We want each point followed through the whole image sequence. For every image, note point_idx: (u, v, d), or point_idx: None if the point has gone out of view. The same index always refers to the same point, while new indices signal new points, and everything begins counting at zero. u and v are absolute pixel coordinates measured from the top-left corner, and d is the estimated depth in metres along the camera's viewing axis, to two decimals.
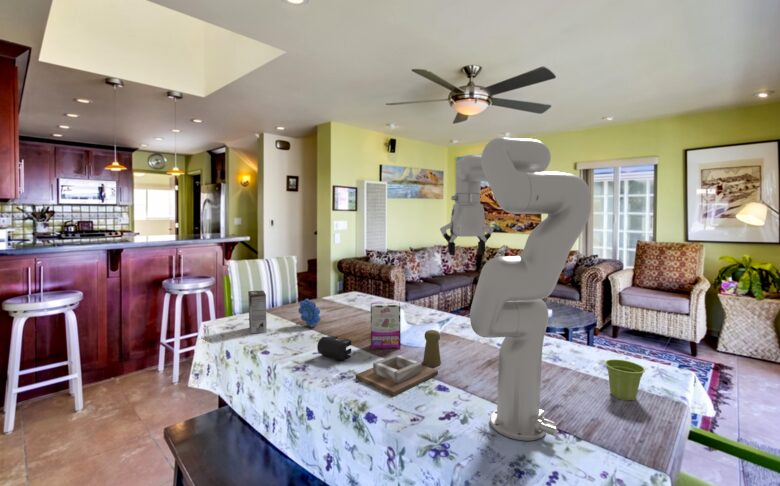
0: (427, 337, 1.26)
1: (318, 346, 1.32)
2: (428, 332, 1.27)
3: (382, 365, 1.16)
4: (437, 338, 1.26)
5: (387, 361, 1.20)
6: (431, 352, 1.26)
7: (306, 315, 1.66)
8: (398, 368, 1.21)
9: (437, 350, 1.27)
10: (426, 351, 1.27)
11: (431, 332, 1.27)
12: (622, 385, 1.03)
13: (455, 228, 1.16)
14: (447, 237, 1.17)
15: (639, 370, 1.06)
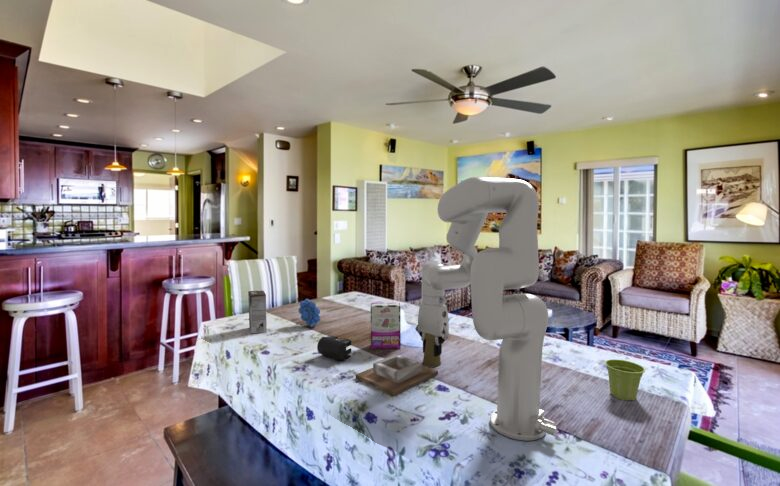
0: (427, 337, 1.26)
1: (318, 346, 1.32)
2: None
3: (382, 365, 1.16)
4: None
5: (387, 361, 1.20)
6: (431, 352, 1.26)
7: (306, 315, 1.66)
8: (398, 368, 1.21)
9: None
10: (426, 351, 1.27)
11: None
12: (622, 385, 1.03)
13: (448, 327, 1.26)
14: None
15: (639, 370, 1.06)
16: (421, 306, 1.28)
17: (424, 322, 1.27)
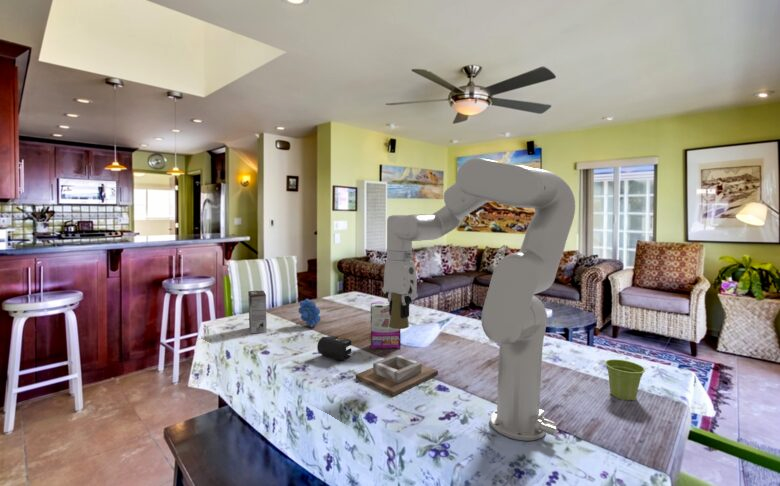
0: (393, 297, 1.14)
1: (318, 346, 1.32)
2: None
3: (382, 365, 1.16)
4: None
5: (387, 361, 1.20)
6: (397, 313, 1.14)
7: (306, 315, 1.66)
8: (398, 368, 1.21)
9: None
10: (392, 312, 1.15)
11: None
12: (622, 385, 1.03)
13: (416, 286, 1.14)
14: None
15: (639, 370, 1.06)
16: (387, 263, 1.16)
17: (390, 280, 1.15)
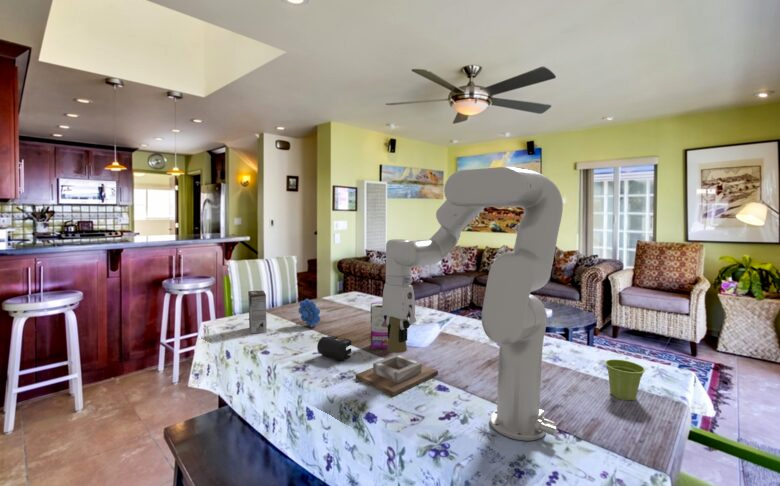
0: (391, 321, 1.15)
1: (318, 346, 1.32)
2: None
3: (382, 365, 1.16)
4: None
5: (387, 361, 1.20)
6: (395, 337, 1.15)
7: (306, 315, 1.66)
8: (398, 368, 1.21)
9: None
10: (390, 336, 1.16)
11: None
12: (622, 385, 1.03)
13: (414, 310, 1.15)
14: None
15: (639, 370, 1.06)
16: (385, 287, 1.16)
17: (388, 304, 1.15)
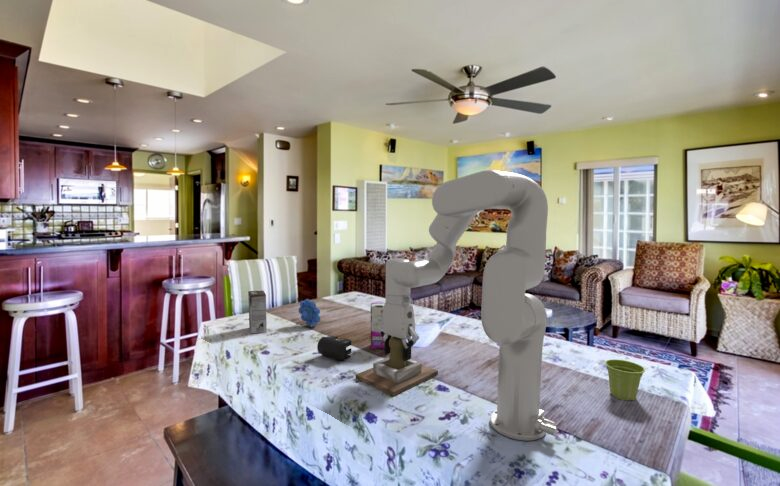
0: (391, 344, 1.15)
1: (318, 346, 1.32)
2: (392, 339, 1.16)
3: (382, 365, 1.16)
4: (402, 345, 1.15)
5: (387, 361, 1.20)
6: (395, 361, 1.15)
7: (306, 315, 1.66)
8: None
9: (402, 359, 1.16)
10: (390, 360, 1.16)
11: (395, 339, 1.16)
12: (622, 385, 1.03)
13: (414, 329, 1.15)
14: None
15: (639, 370, 1.06)
16: (385, 306, 1.17)
17: (388, 323, 1.16)
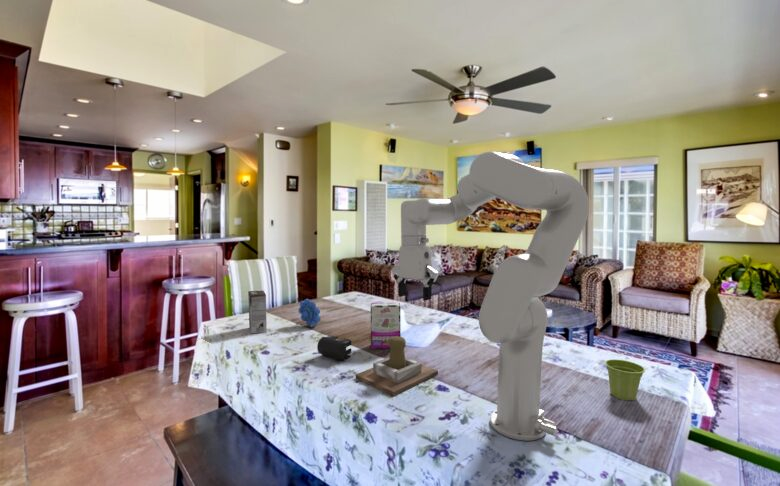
0: (391, 344, 1.15)
1: (318, 346, 1.32)
2: (392, 339, 1.16)
3: (382, 365, 1.16)
4: (402, 346, 1.15)
5: (387, 361, 1.20)
6: (395, 361, 1.15)
7: (306, 315, 1.66)
8: None
9: (402, 359, 1.16)
10: (390, 360, 1.16)
11: (395, 339, 1.16)
12: (622, 385, 1.03)
13: None
14: None
15: (639, 370, 1.06)
16: (401, 249, 1.16)
17: (405, 266, 1.15)
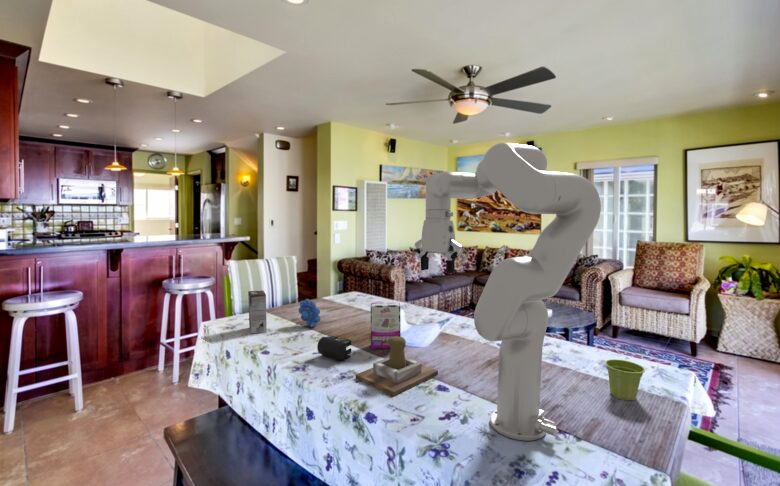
0: (391, 344, 1.15)
1: (318, 346, 1.32)
2: (392, 339, 1.16)
3: (382, 365, 1.16)
4: (402, 346, 1.15)
5: (387, 361, 1.20)
6: (395, 361, 1.15)
7: (306, 315, 1.66)
8: None
9: (402, 359, 1.16)
10: (390, 360, 1.16)
11: (396, 339, 1.16)
12: (622, 385, 1.03)
13: None
14: None
15: (639, 370, 1.06)
16: (425, 223, 1.17)
17: (428, 240, 1.16)
